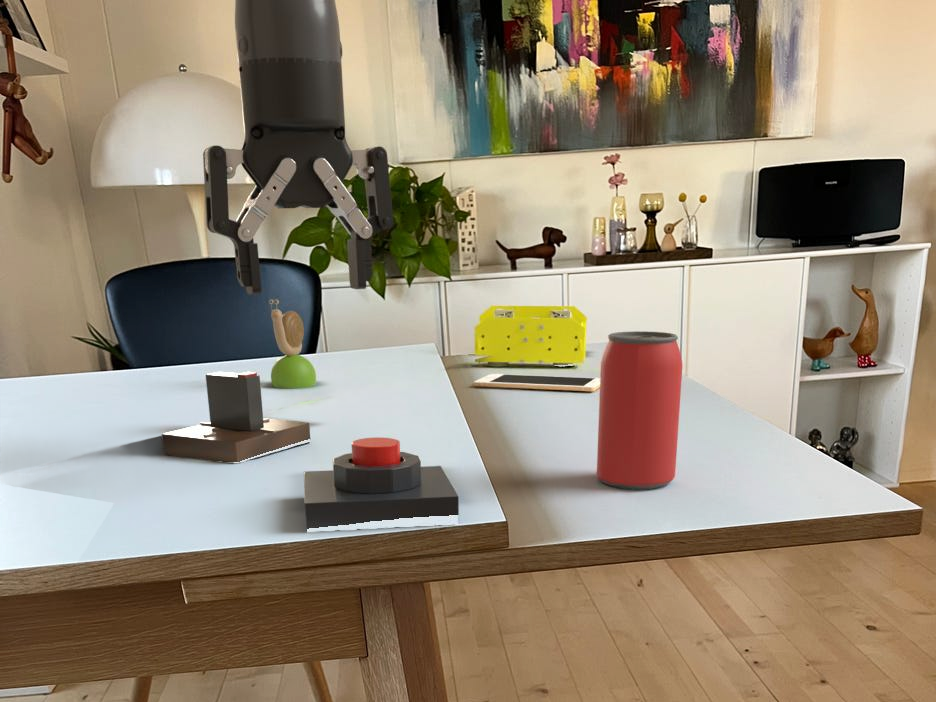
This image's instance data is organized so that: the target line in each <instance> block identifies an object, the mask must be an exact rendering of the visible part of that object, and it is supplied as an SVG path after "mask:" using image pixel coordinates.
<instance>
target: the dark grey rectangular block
mask: <svg viewBox="0 0 936 702" xmlns="http://www.w3.org/2000/svg"><path fill="white" fill-rule="evenodd" d="M205 383H206V384H205V385H206V393H207V394H206V395H207V402H208V412H209V422H210V423H211V427H216V428H225V429H234V430H243V431H254V430H258V429H262V428H264V422H263V418H264V413H263V411H264V410H263V399H262V388H261V387H262V386H261V375H259V374H258V372H255V371H253V372H252V371H247V372H246V371H245V372H241V373H239V372H237V373H236V372H224V371H217V372H213V373H212V372H211V373H206V374H205Z"/></svg>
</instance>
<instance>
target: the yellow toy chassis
mask: <svg viewBox="0 0 936 702" xmlns="http://www.w3.org/2000/svg"><path fill="white" fill-rule="evenodd" d="M478 320H479V321H478V324H477V325H476V326H474V356H484V357H480V358H475V359H474V362H475V363H478V364H480V363H487V366H489V367H507V366H509V363H520V364H524V363H533V364H534V363H538V364H539V365H542V364H544V363H545V364H547V363H548V364H552V366H553V365H568V364H573V363H574V364H579V365H582V364H584V363H585V359H586V350H587V349H586V348H587V315H585V314H584V313H583V312H582V311H580V309H578V308H577V307H576V306H574V305H490V306H489V307H488V308H486V310H484V311H483V312H482V313H481V314H479V316H478Z"/></svg>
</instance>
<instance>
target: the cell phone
mask: <svg viewBox="0 0 936 702" xmlns="http://www.w3.org/2000/svg"><path fill="white" fill-rule="evenodd" d="M473 386H474V387H487V388H510V389H511V388H512V389H531V390H532V389H533V390H555V391H575V392H577V391H578V392H595V391H596V390H598V389H600V377H585V376H584V377H583V376H582V377H581V376H558V375H537V374H536V375H535V374H534V375H531V374H511V373H510V374H508V373H489V374H488V375H485V376H483V377H481V378H478V379H477V380H475V381H474V382H473Z"/></svg>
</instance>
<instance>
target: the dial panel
mask: <svg viewBox="0 0 936 702" xmlns="http://www.w3.org/2000/svg"><path fill="white" fill-rule="evenodd" d="M263 422H264V428H262V429H258V430H254V431H243V430H234V429H225V428H216V427H211V423H210V421H209V422H206V421H205V422H204V421H201V422H199V423H200V424H197V425H193V426H189V427H185V428H181V429H177V430H176V429H175V430H172V431H168V432H164V433H161V437H162V438H161V439H162V446H163V454H164V455H165V456H170V457H171V456H172V457H179V458H187V459H194V460H200V461H201V460H203V461H208V460H211V461H210V462H216V461H222V462H221V463H225V462H240V461H242V460H245V459H248V458H251V457H254V456H257V455H260V454H263V453H266V452H269V451H273V450H276V449H279V448H282V447H285V446H288V445H291V444H295V443H298V442H301V441H304V440H308V439H310V440H311V429H310V428H311V427H310V422H308V421H297V420H288V419H278V418H270V417H269V418H267V417H263Z"/></svg>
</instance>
